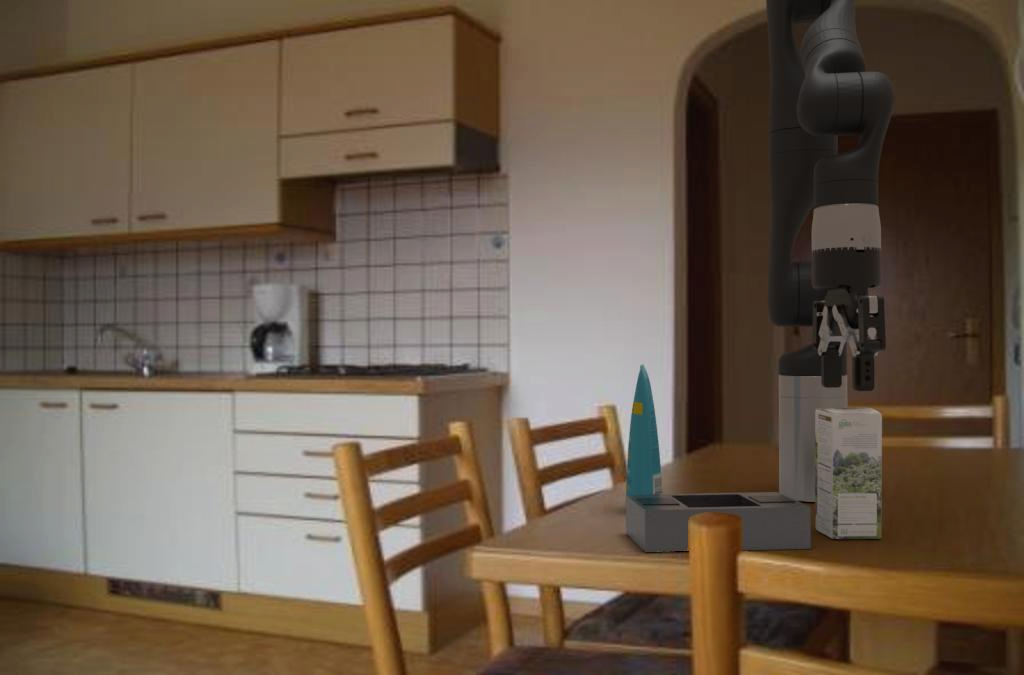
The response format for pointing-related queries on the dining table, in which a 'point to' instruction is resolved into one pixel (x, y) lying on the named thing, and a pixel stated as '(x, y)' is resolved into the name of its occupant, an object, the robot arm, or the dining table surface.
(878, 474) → the syrup box
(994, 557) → the dining table surface
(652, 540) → the grey open box
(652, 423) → the tube
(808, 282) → the robot arm
